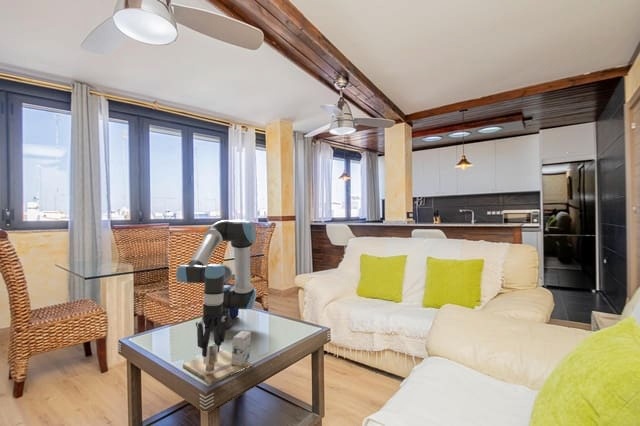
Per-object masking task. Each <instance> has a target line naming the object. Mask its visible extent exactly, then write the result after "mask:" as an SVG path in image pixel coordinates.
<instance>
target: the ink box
mask: <svg viewBox="0 0 640 426" xmlns="http://www.w3.org/2000/svg"><path fill="white" fill-rule="evenodd" d="M251 337H252V332H251V331H244V330H240V331H239V332H238V333H237V334H236V335H234V336H233V337H232V349H231V351H232V353H231V354H232V362H231V364H233V365H238V366H242V365H243V364H244V363H245V362H246V361H248V360H249V359H250V353H251Z"/></svg>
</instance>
